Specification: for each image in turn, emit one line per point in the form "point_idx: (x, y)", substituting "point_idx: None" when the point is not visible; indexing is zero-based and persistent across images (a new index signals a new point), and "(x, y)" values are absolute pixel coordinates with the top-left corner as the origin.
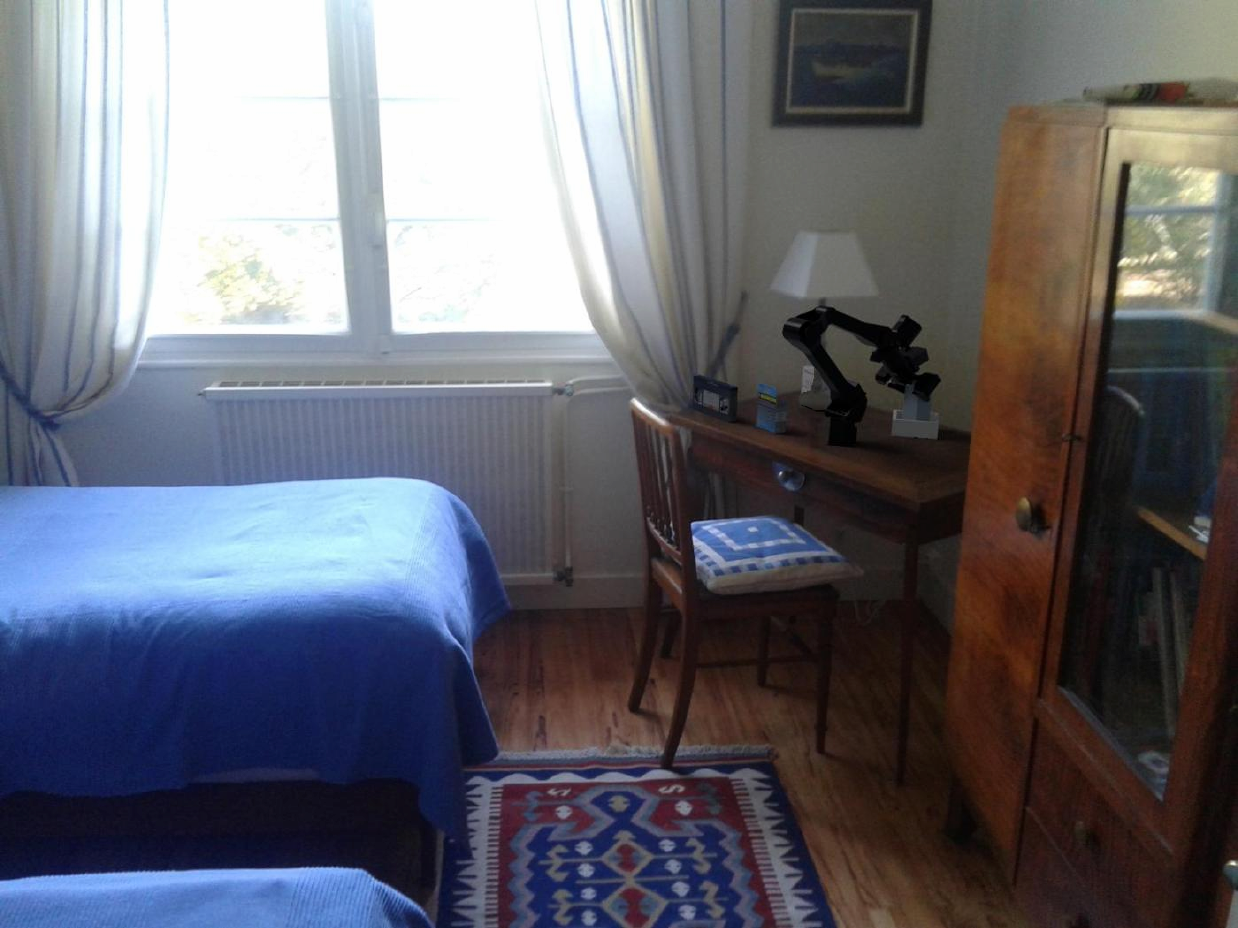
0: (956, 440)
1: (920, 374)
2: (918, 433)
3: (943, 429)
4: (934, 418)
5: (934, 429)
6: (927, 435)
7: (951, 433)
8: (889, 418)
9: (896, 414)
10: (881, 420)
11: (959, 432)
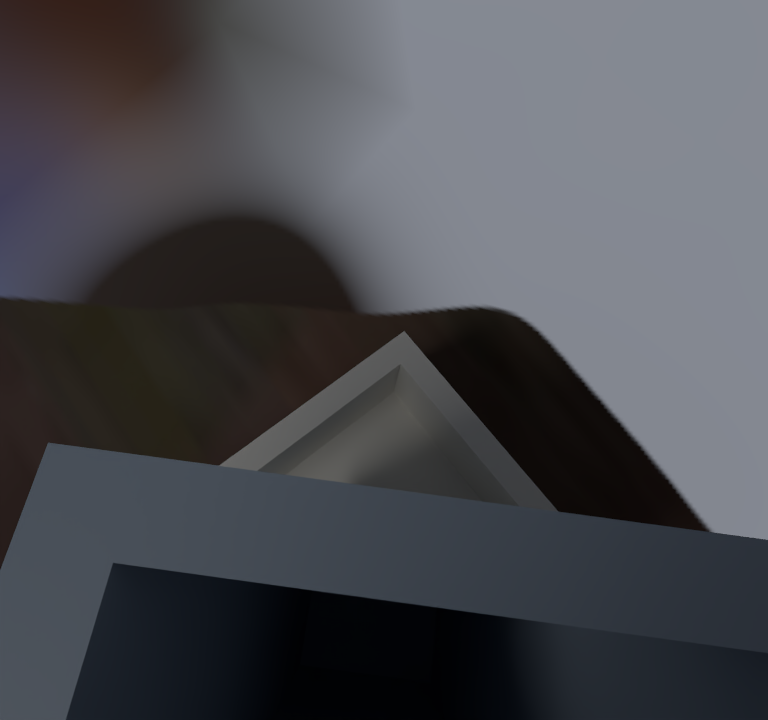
0: (664, 507)
1: (135, 563)
2: None
3: (425, 341)
4: (397, 376)
5: None
6: None
7: (518, 382)
8: (22, 398)
9: None
10: (5, 498)
11: (523, 322)
